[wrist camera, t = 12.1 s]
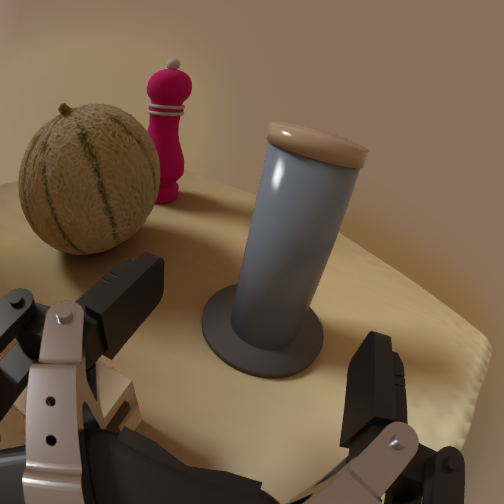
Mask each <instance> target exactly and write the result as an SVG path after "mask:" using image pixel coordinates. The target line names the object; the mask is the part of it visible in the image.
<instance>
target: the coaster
mask: <svg viewBox="0 0 504 504" xmlns="http://www.w3.org/2000/svg"><path fill="white" fill-rule="evenodd" d="M237 285H238V284H236V285H231V286H228V287H226V288H224V289H221V290H220V291H218V292H217V293H215V294H214V295H213V296H212V297H211V298H210V299H209V300H208V302H207V304H206V305H205V308H204V311H203V317H202V330H203V334H204V337H205V339H206V342H207V343H208V345H209V347H210V348H211V349H212V351H213V352H214V353H215V354H216V355H217V356H218V357H219V358H220V359H221V360H222V361H224V362H225V363H226V364H228V365H229V366H231V367H233V368H235V369H236V370H239V371H241V372H243V373H246V374H250V375H253V376H258V377H265V378H280V377H286V376H290V375H293V374H296V373H298V372H301V371H303V370H304V369H305V368H307V367H308V366H309V365H310V364H311V363H312V362H313V361H314V360H315V359H316V357H317V355H318V354H319V352H320V350H321V348H322V344H323V329H322V326H321V323H320V321H319V319H318V317H317V316H316V314H315V313H314V311H313V310H312V309H311V308H310V307H309V308H308V311H307V313H306V315H305V318H304V320H303V322H302V325H301V327H300V329H299V331H298V334H297V336H296V338H295V340H294V341H293V342H292V343H291V344H289V345H288V346H286V347H283V348H280V349H274V350H267V349H261V348H257V347H254V346H252V345H249V344H248V343H246V342H244V341H243V340H242V339H240V338H239V337H238V336H237V335H236V333H235V332H234V330H233V328H232V326H231V313H232V309H233V304H234V299H235V295H236V290H237Z"/></svg>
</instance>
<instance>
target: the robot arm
mask: <svg viewBox="0 0 504 504" xmlns="http://www.w3.org/2000/svg"><path fill="white" fill-rule="evenodd" d="M163 290H164V260H163V259H162V258H160V257H157V256H155V255H152V254H149V253H147V252H144V253H143V254H141V255H140V256H139V257H138V258H137V259H135V260H134V261H132V260H128V261H126V262H123V263H121V264H118V265H117V266H116V267H115V268H113V269H112V270H111V271H110V272H109V274H106V275H105V276H104V277H103V278H102V280H101V279H100V280H99V281H98V282H97V283H96V284H95V285H94V286H92V287H91V288H90V289H89V290H88V291H87V292H86V293H85V294H83V295H82V296H81V297H80V298H79V299H78V300H77V301H75V302H73V301H61V302H58V303H56V304H54V305H53V306H52V307H49V306H46V305H42V304H38V303H35V302H34V299H33V296H32V294H31V292H30V291H29V290H27V289H23V288H19V289H14V290H12V291H10V292H8V293H7V294H6V295H5V296H4V297H3V298H2V299H0V353H1V352H2V351H3V350H4V349H5V348H6V346H7V345H8V344H9V343H10V342H11V341H12V340H13V339H14V338H16V340H17V344H16V345H15V346H14V347H13V348H12V349H11V350H10V351H9V352H8V354H7V355H6V356H5V357H4V358H3V359H2V360H1V362H0V422H1V420H2V419H3V418H4V416H5V415H6V413H7V412H8V411H9V409H10V408H11V406H12V405H13V404H14V402H15V401H16V400H17V398H18V397H19V396H20V394H21V393H22V392H23V390H24V389H25V388H26V386H27V385H28V389H27V403H26V445H24V446H19V447H13V448H8V449H2V450H0V504H280V503H279V502H278V501H277V500H276V499H274V498H273V497H272V496H271V495H269V494H268V493H266V492H265V491H263V490H261V489H260V488H261V485H262V482H259V481H256V480H252V479H249V478H245V477H242V476H239V475H236V474H233V473H230V472H226V471H217V470H210V469H203V468H197V467H191V466H187V465H185V464H183V463H182V462H181V461H179V460H178V459H177V458H175V457H174V456H173V455H171V454H170V453H169V452H167V451H166V450H165V449H164V448H162V447H161V446H160V445H159V444H157V443H156V442H154V441H152V440H150V439H148V438H147V437H145V436H143V435H141V434H139V433H137V432H135V431H133V430H131V429H130V428H128V427H126V426H124V427H123V429H122V430H121V432H120V431H115V430H110V429H106V427H105V421H104V417H103V413H102V410H101V404H100V391H99V372H98V359H99V358H100V357H101V355H104V356H106V357H107V358H109V359H111V360H112V359H113V358H114V357H115V355H116V354H117V353H118V352H119V350H120V349H121V348H122V347H123V346H124V344H125V343H126V342H127V341H128V339H129V338H130V337H131V336H132V335H133V333H134V332H135V331H136V330H137V329H138V327H139V326H140V325H141V324H142V323H143V321H144V320H145V319H146V318H147V317H148V316H149V314H150V313H151V312H152V311H153V310H154V308H155V307H156V306H157V305H158V304H159V302H160V300H161V298H162V295H163ZM404 377H405V376H404V366H403V363H402V361H401V359H400V357H399V355H398V353H396V352H393V351H392V343H391V337H390V336H388V335H384V334H381V333H377V332H374V331H370V332H369V333H368V335H367V336H366V338H365V339H364V341H363V343H362V344H361V346H360V347H359V349H358V350H357V351H356V353H355V354H354V356H353V358H352V359H351V362H350V364H349V368H348V373H347V385H346V396H345V406H344V415H343V423H342V431H341V438H340V445H339V447H345V448H349V455H348V456H347V457H346V458H344V459H343V460H342V461H341V462H340V463H339V464H338V465H336V466H335V467H334V468H333V469H332V470H331V471H329V472H328V473H327V474H326V475H325V476H323V477H322V478H321V479H320V480H318V481H317V482H316V483H315V484H313V485H312V486H311V487H309V488H308V489H307V490H305V491H304V492H302V493H300V494H299V495H297V496H296V497H294V498H293V499H291V500H290V501H288V502H287V503H285V504H381V503H382V500H381V499H380V498H381V496H382V495H383V494H384V493H386V494H385V500H384V504H421V502H422V504H464V487H465V463H464V458H463V456H462V454H461V452H460V451H459V450H458V449H456V448H455V447H451V446H447V447H444V448H442V449H441V450H439V451H438V452H436V451H434V450H432V449H430V448H428V447H426V446H424V445H422V444H420V443H419V441H418V437H417V434H416V432H415V431H414V429H413V428H412V427H411V426H409V425H408V422H407V401H406V388H405V379H404ZM0 441H1V435H0ZM422 497H423V498H422Z"/></svg>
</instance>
